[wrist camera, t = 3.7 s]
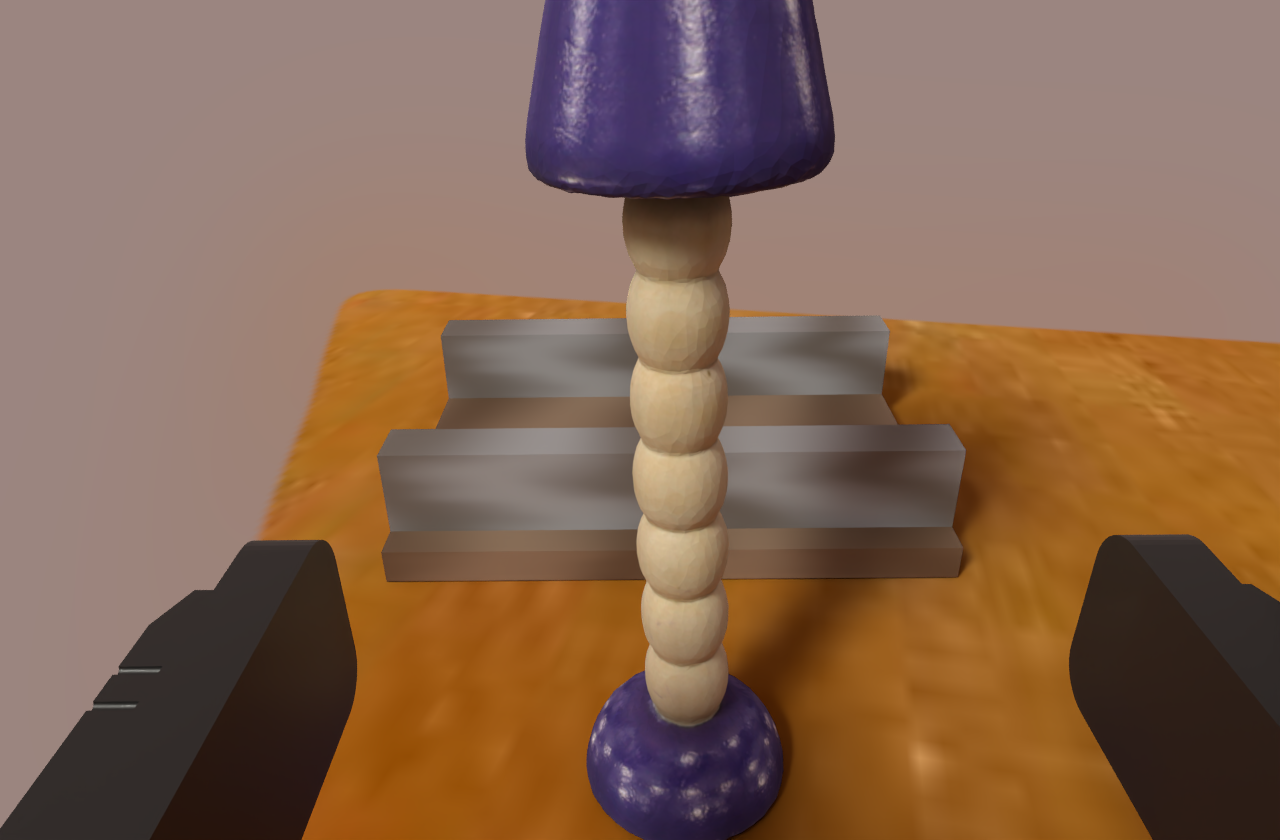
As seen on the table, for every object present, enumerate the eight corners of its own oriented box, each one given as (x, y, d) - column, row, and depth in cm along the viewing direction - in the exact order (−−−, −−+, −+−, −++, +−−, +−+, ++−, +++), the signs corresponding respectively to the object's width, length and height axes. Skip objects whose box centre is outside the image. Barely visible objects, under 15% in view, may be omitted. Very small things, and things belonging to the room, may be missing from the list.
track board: (864, 388, 35) (873, 306, 34) (957, 576, 25) (978, 469, 23) (464, 392, 35) (454, 310, 34) (386, 581, 25) (367, 475, 23)
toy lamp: (526, 778, 19) (427, -146, 11) (641, 648, 22) (628, -125, 15) (727, 888, 17) (780, -176, 9) (820, 725, 20) (919, -144, 12)
